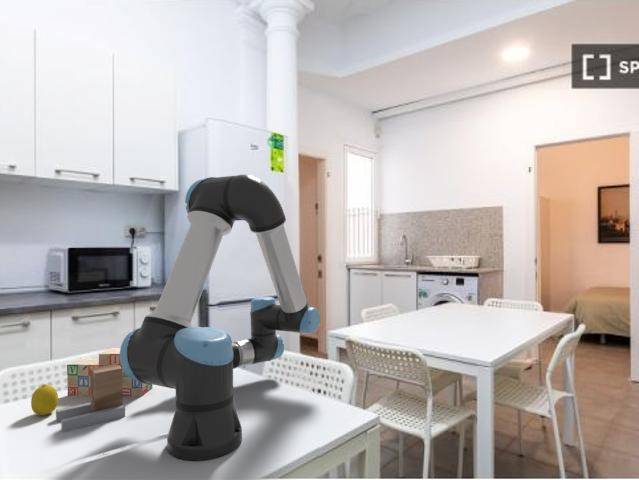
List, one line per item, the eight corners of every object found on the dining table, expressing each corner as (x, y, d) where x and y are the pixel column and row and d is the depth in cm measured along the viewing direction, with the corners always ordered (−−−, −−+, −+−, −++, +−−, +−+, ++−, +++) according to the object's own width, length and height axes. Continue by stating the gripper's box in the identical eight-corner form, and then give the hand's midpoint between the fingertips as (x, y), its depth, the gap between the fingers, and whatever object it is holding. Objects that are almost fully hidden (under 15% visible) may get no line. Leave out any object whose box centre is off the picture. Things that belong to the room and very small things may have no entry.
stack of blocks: (66, 398, 119) (66, 353, 119) (81, 390, 125) (80, 347, 125) (142, 399, 117) (142, 353, 117) (153, 391, 123) (152, 348, 123)
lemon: (45, 422, 103) (45, 388, 103) (25, 421, 104) (25, 387, 104) (63, 413, 108) (63, 381, 108) (44, 411, 109) (44, 379, 109)
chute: (125, 419, 104) (125, 407, 104) (62, 435, 96) (62, 422, 96) (115, 408, 111) (115, 396, 111) (55, 422, 103) (55, 410, 103)
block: (122, 413, 105) (122, 368, 105) (95, 420, 102) (95, 373, 102) (117, 407, 109) (116, 363, 109) (90, 414, 106) (90, 368, 105)
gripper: (246, 372, 122) (161, 393, 107) (224, 362, 132) (144, 380, 117) (246, 346, 122) (161, 362, 107) (224, 338, 132) (144, 352, 117)
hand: (152, 371), depth 112 cm, fingers closed
